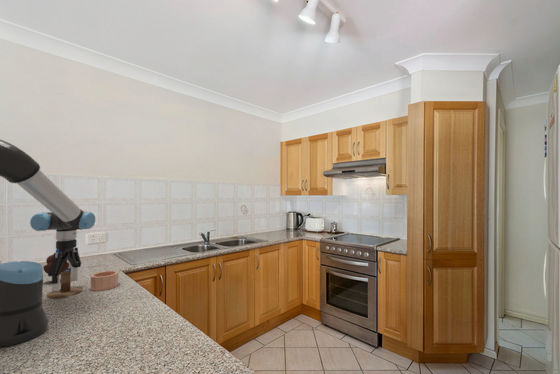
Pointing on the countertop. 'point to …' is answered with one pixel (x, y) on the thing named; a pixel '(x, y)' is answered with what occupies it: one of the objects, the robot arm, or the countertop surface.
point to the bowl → (104, 280)
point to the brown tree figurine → (47, 267)
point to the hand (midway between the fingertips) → (65, 285)
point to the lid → (65, 287)
